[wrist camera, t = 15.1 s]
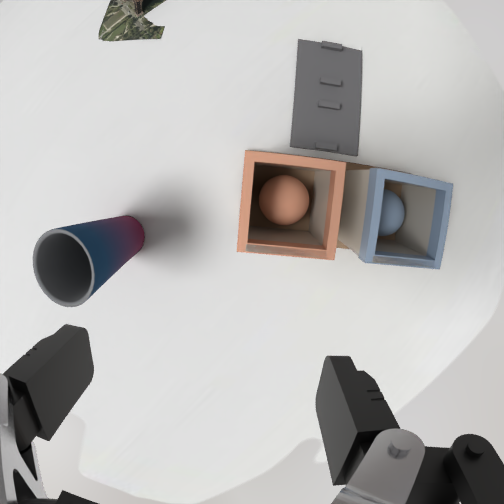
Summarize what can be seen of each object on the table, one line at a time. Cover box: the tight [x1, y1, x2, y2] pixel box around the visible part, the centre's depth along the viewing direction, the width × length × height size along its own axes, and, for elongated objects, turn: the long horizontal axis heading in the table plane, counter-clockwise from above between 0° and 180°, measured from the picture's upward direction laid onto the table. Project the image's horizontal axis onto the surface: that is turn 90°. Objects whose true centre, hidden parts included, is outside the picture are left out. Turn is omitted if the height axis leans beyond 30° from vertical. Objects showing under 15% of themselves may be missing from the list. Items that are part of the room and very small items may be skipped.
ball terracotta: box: [259, 175, 309, 225], centre depth 32 cm, size 5×5×5 cm
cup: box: [33, 216, 145, 307], centre depth 30 cm, size 7×7×15 cm
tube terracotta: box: [237, 151, 346, 260], centre depth 30 cm, size 8×8×10 cm
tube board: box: [245, 150, 410, 249], centre depth 35 cm, size 10×20×1 cm, turn 85°
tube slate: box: [338, 168, 453, 269], centre depth 30 cm, size 8×8×10 cm
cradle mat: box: [290, 39, 362, 156], centre depth 32 cm, size 14×8×1 cm, turn 175°
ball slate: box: [378, 189, 405, 236], centre depth 32 cm, size 5×5×5 cm
